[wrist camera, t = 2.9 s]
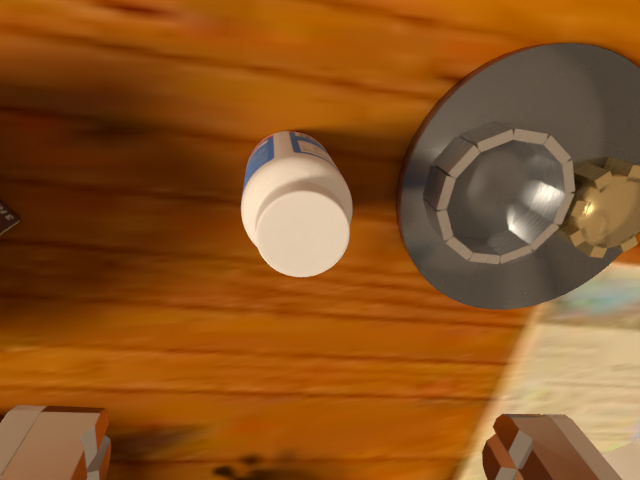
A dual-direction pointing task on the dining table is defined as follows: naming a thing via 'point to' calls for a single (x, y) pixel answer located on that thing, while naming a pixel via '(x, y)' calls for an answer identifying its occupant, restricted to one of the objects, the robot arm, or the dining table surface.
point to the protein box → (7, 218)
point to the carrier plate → (525, 176)
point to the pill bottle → (296, 204)
